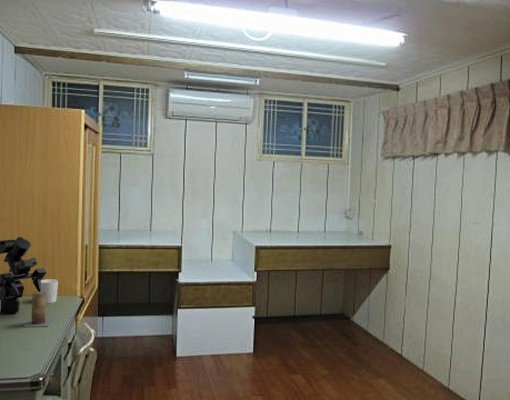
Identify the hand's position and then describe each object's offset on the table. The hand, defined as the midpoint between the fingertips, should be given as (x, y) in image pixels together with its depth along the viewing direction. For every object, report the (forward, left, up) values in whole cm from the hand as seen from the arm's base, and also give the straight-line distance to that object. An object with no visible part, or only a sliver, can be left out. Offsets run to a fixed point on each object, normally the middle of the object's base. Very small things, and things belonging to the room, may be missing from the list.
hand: (29, 293), depth 193 cm
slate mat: (+5, -6, -11) cm, 13 cm away
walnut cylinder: (+5, -6, -11) cm, 13 cm away
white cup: (+1, +29, -11) cm, 32 cm away
